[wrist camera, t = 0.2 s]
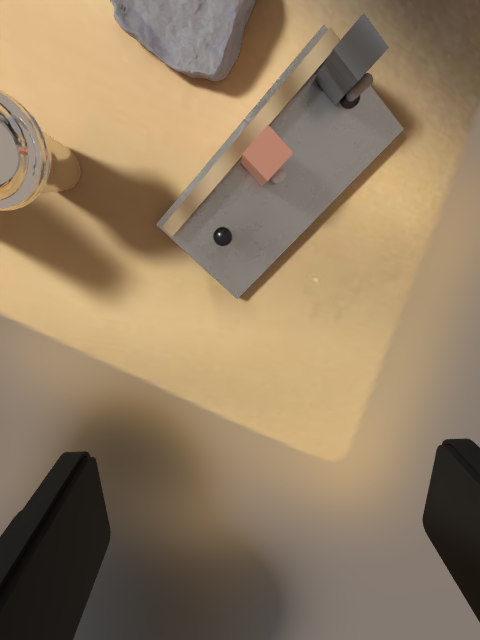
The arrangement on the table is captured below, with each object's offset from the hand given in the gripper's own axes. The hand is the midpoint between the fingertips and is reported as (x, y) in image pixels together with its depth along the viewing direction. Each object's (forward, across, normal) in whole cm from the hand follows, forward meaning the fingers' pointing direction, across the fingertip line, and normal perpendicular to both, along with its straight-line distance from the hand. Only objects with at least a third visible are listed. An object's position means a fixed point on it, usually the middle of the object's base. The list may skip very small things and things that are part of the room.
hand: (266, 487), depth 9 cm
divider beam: (+29, -2, -12) cm, 31 cm away
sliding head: (+29, -3, -11) cm, 31 cm away
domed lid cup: (+30, +19, -12) cm, 38 cm away
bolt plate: (+30, -4, -10) cm, 32 cm away
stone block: (+31, +5, -25) cm, 40 cm away
